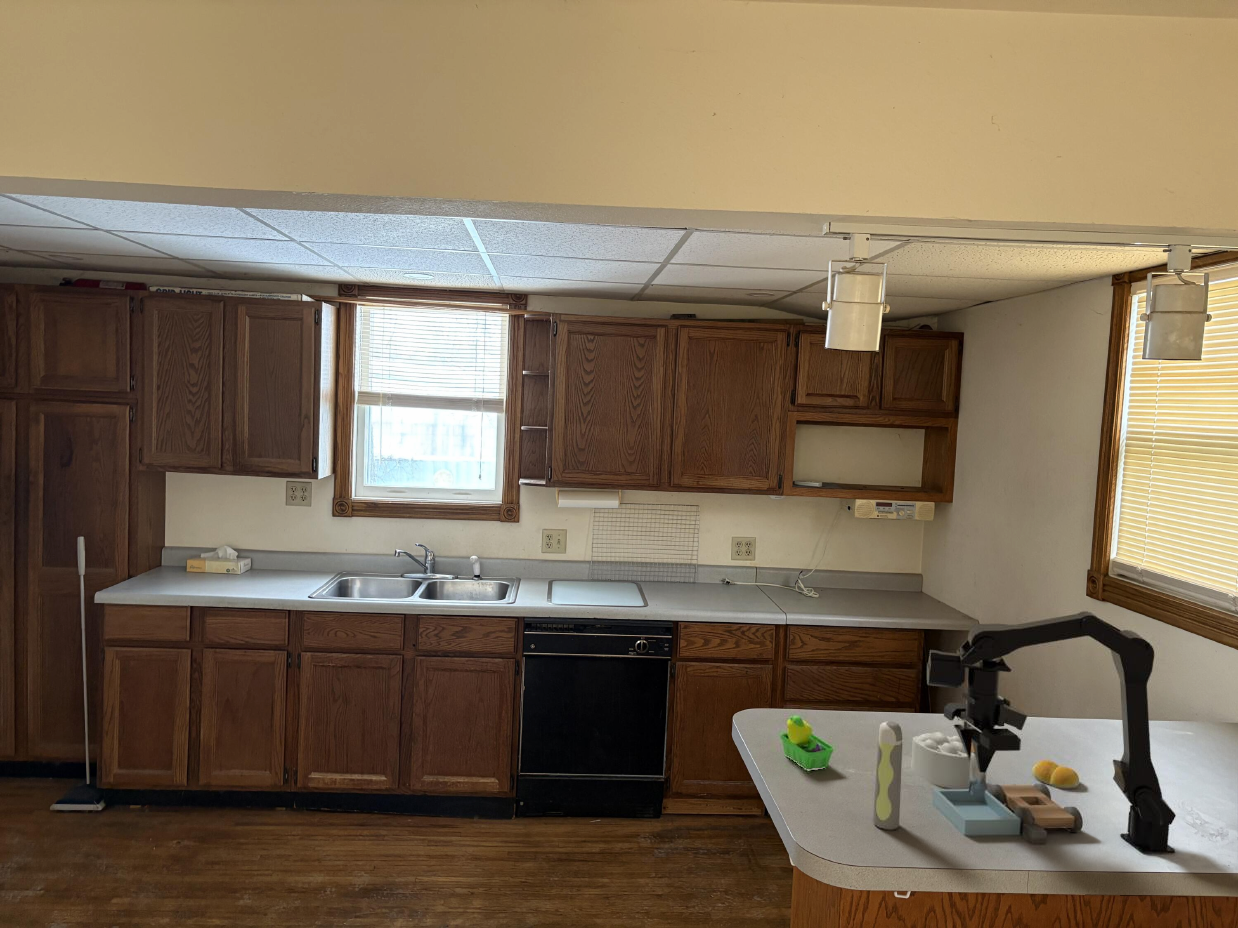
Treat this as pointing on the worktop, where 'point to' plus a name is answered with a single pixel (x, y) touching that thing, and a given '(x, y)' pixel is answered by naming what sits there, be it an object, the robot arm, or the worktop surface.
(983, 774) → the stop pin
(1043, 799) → the dolly
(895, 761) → the grey and yellow cylinder
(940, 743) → the lumpy-topped squat cylinder
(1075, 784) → the bread roll
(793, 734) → the fruit basket
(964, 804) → the tray
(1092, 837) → the worktop surface
